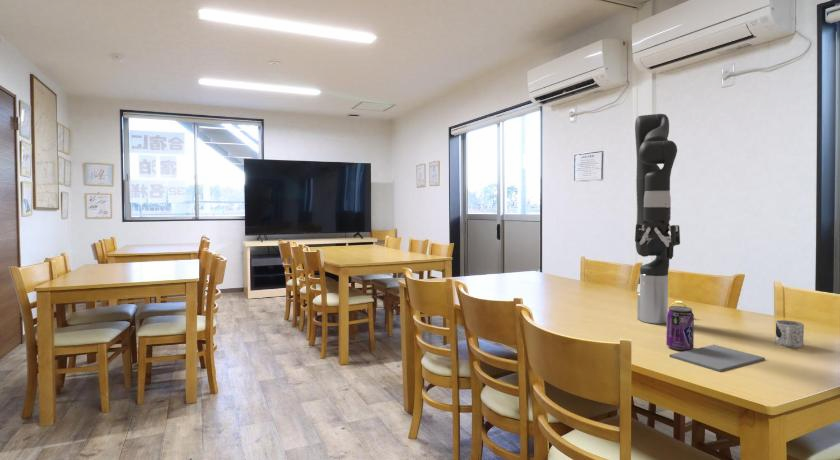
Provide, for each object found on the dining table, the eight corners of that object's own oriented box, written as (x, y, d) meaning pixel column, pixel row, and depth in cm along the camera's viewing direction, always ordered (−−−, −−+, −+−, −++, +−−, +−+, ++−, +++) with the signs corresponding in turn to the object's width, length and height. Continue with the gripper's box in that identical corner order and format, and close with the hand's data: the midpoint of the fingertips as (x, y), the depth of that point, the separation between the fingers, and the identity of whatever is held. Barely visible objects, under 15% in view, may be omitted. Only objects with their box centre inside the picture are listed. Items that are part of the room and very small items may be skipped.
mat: (669, 356, 135) (669, 354, 135) (714, 346, 144) (714, 344, 144) (719, 371, 123) (719, 369, 123) (764, 359, 132) (764, 357, 132)
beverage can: (679, 352, 139) (679, 311, 138) (660, 345, 146) (661, 306, 145) (699, 350, 141) (699, 309, 140) (680, 343, 148) (680, 305, 147)
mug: (776, 340, 150) (776, 319, 150) (803, 343, 146) (804, 322, 145) (774, 347, 142) (774, 325, 142) (802, 351, 138) (803, 329, 138)
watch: (687, 317, 182) (689, 302, 181) (686, 319, 180) (687, 303, 179) (670, 314, 185) (671, 299, 185) (668, 316, 183) (670, 300, 183)
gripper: (629, 206, 154) (629, 256, 155) (669, 205, 141) (668, 260, 142) (646, 205, 157) (645, 255, 158) (686, 205, 145) (685, 259, 145)
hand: (656, 257), depth 150 cm, fingers open, 8 cm apart
